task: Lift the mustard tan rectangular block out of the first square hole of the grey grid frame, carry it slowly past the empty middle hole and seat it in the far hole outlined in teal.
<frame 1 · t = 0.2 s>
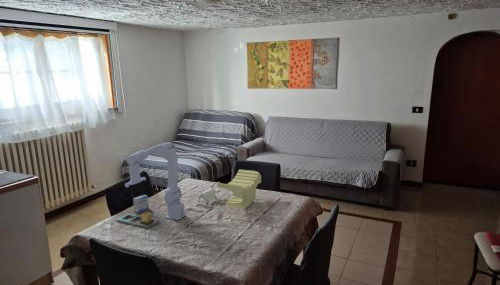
hand: (137, 194, 207), 10 cm above the table, fingers open, 7 cm apart
medicine box: (141, 210, 209), on the table
mustard tan rectangular block: (147, 224, 190), resting in grey grid frame
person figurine: (209, 202, 219), on the table
slatted curved stool: (241, 204, 216), on the table
grey grid frame: (137, 221, 192), on the table
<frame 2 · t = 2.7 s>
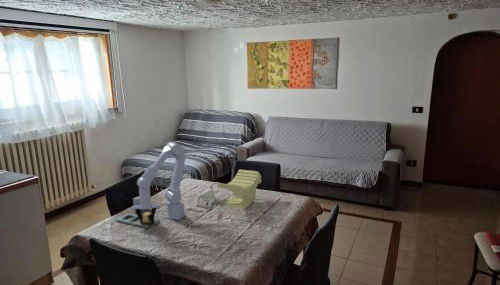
hand: (147, 221, 189), 2 cm above the table, fingers closed on mustard tan rectangular block, 6 cm apart
mustard tan rectangular block: (147, 223, 190), resting in grey grid frame, touching gripper
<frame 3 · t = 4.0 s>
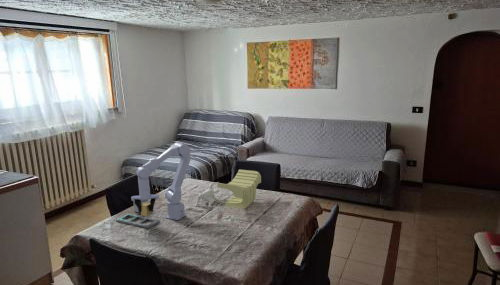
hand: (146, 211, 188), 7 cm above the table, fingers closed on mustard tan rectangular block, 6 cm apart
mustard tan rectangular block: (146, 214, 188), point 6 cm above the table, touching gripper
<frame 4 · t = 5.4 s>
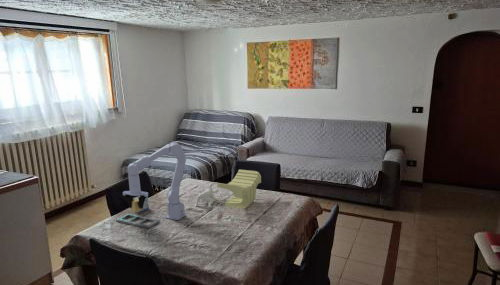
hand: (136, 207, 191), 9 cm above the table, fingers closed on mustard tan rectangular block, 6 cm apart
mustard tan rectangular block: (137, 210, 191), point 7 cm above the table, touching gripper
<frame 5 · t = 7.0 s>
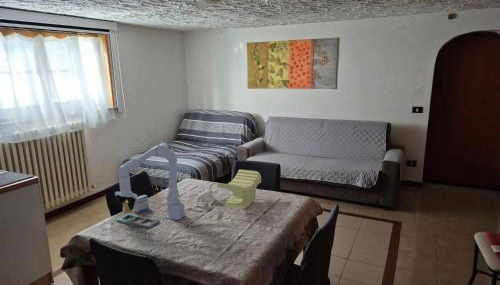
hand: (127, 208, 194), 7 cm above the table, fingers closed on mustard tan rectangular block, 6 cm apart
mustard tan rectangular block: (127, 211, 194), point 5 cm above the table, touching gripper
when the fingers open (3 cm above the table, at t = 8.4 s): mustard tan rectangular block drops 1 cm, resting in grey grid frame.
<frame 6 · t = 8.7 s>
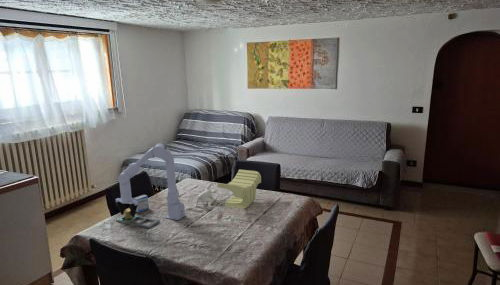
hand: (128, 215, 195), 3 cm above the table, fingers open, 7 cm apart
mustard tan rectangular block: (128, 219, 195), resting in grey grid frame
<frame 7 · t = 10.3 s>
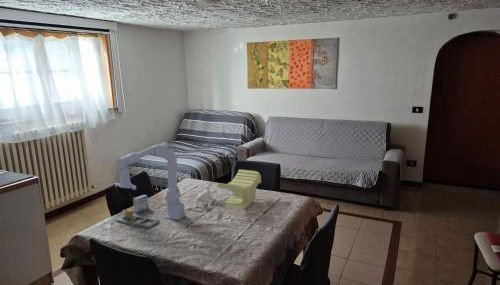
hand: (126, 199, 198), 10 cm above the table, fingers open, 7 cm apart
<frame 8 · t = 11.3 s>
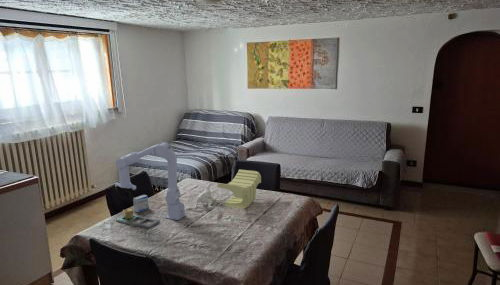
hand: (126, 199, 198), 10 cm above the table, fingers open, 7 cm apart
at the end: mustard tan rectangular block 0.1 cm from the target spot, resting in grey grid frame; mustard tan rectangular block tilted 0°; the gripper is holding nothing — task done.
